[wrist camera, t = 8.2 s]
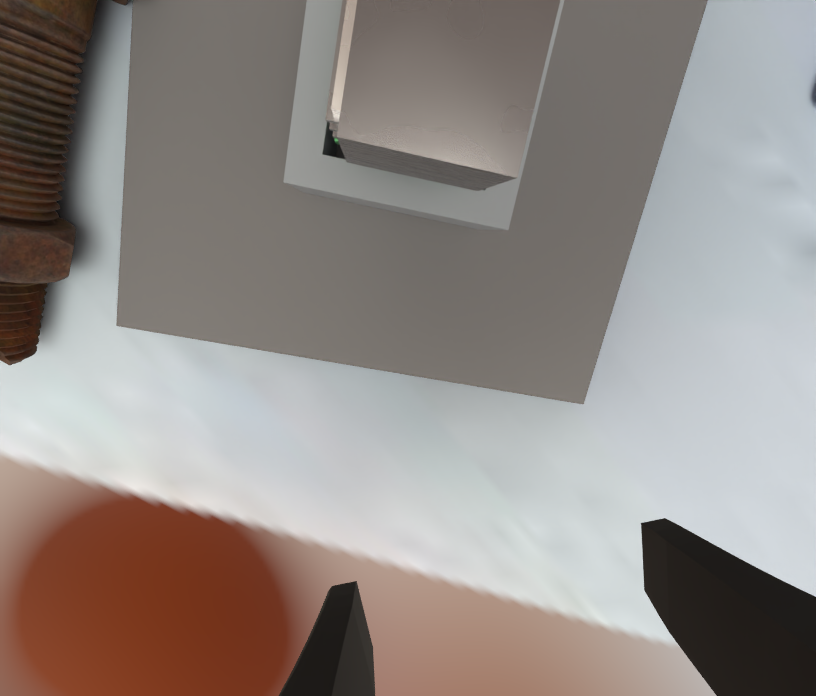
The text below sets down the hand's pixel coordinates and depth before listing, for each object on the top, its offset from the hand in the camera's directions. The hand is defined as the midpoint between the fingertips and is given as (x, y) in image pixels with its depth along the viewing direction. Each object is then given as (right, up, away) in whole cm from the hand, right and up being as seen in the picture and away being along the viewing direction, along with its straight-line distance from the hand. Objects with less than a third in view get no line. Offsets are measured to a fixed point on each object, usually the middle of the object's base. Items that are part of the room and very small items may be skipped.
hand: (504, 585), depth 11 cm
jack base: (-2, +15, +7) cm, 16 cm away
